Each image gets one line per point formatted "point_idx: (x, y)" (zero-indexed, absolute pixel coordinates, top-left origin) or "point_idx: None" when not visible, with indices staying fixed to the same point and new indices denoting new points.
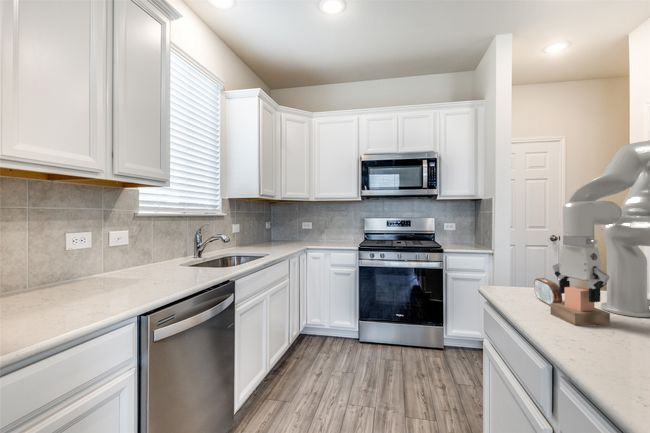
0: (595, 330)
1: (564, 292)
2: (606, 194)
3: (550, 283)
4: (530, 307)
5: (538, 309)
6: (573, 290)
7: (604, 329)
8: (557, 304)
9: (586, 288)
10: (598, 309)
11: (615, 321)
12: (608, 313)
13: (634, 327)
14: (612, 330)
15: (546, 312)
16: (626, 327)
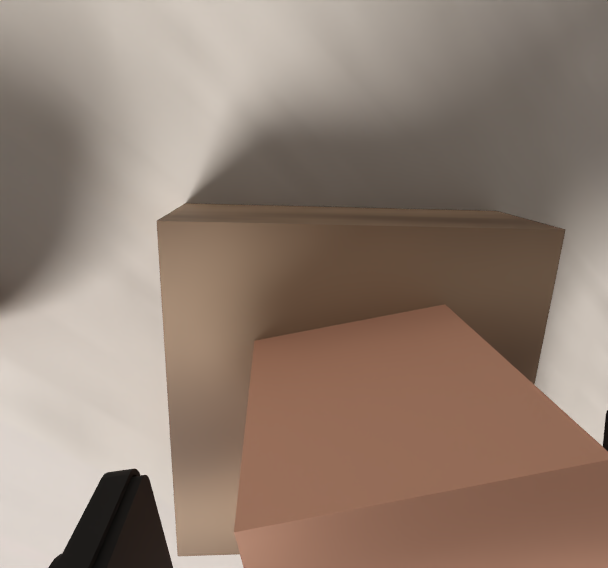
0: (561, 405)
1: (166, 559)
2: None
3: None
4: (4, 517)
5: (62, 488)
6: None
7: (560, 330)
8: (221, 519)
9: (448, 496)
10: (431, 240)
11: (416, 56)
12: (560, 244)
13: (579, 29)
14: (589, 290)
15: (148, 474)
16: (563, 109)
